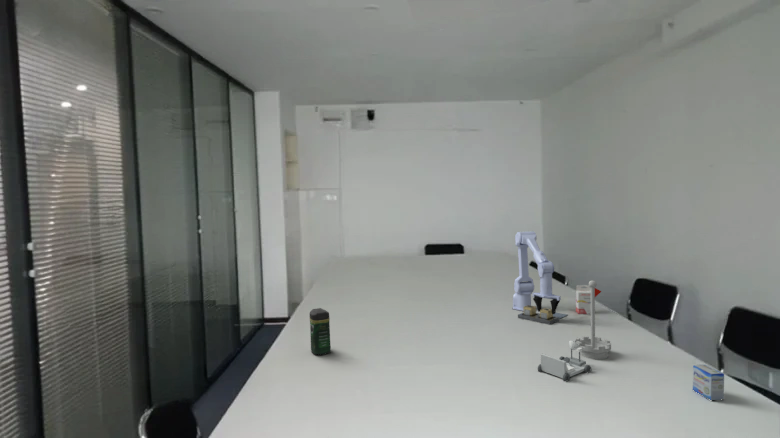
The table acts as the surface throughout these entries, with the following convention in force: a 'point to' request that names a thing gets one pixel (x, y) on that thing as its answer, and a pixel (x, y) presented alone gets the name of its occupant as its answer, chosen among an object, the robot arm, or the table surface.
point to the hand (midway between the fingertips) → (546, 312)
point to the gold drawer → (530, 310)
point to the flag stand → (593, 334)
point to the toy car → (564, 364)
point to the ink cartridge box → (583, 299)
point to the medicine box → (708, 382)
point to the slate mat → (559, 315)
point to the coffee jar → (320, 331)
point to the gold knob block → (546, 314)
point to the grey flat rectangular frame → (538, 318)
